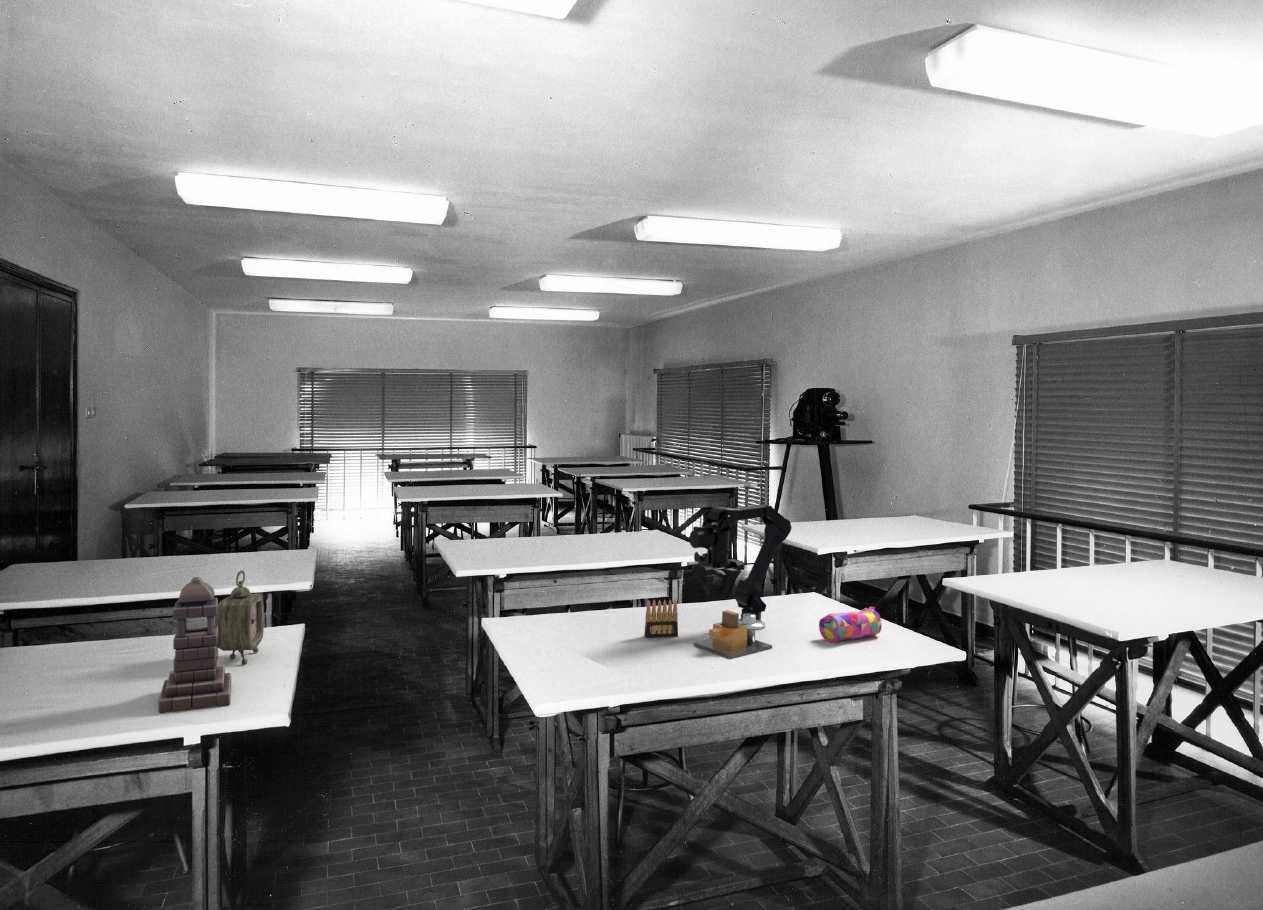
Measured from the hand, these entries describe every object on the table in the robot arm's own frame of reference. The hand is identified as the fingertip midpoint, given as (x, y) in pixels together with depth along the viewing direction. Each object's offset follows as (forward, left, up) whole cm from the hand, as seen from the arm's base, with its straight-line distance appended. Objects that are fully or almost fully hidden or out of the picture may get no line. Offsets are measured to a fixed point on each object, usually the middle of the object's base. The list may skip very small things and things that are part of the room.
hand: (718, 593), depth 268 cm
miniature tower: (+147, -31, -13) cm, 151 cm away
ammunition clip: (+18, -7, -13) cm, 23 cm away
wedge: (+8, +14, -12) cm, 20 cm away
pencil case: (-32, +29, -13) cm, 45 cm away
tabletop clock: (+131, -57, -13) cm, 143 cm away
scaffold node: (+5, +14, -13) cm, 20 cm away
